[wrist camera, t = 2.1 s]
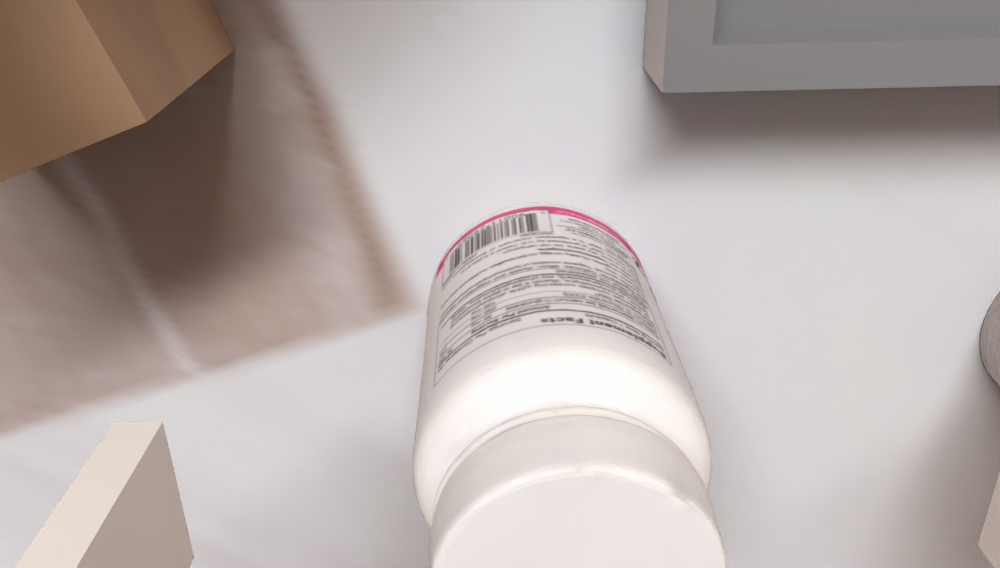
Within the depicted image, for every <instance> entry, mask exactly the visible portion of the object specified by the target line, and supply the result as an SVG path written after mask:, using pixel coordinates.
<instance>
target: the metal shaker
mask: <svg viewBox="0 0 1000 568" xmlns="http://www.w3.org/2000/svg"><path fill="white" fill-rule="evenodd" d="M980 350H981V356H982V360H983V363H984V365H985V367H986V369H987V371H988V373H989V374H990V375H991V377H992V378H993V379H994V380H995V381H996V382H997V383H998V384H999V385H1000V293H999V294H998V295H997V297H996V298H995V300H994V301H993V303H992V305H991V306H990V308H989V310H988V312H987V315H986V317H985V320H984V323H983V326H982V330H981V337H980Z"/></svg>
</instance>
